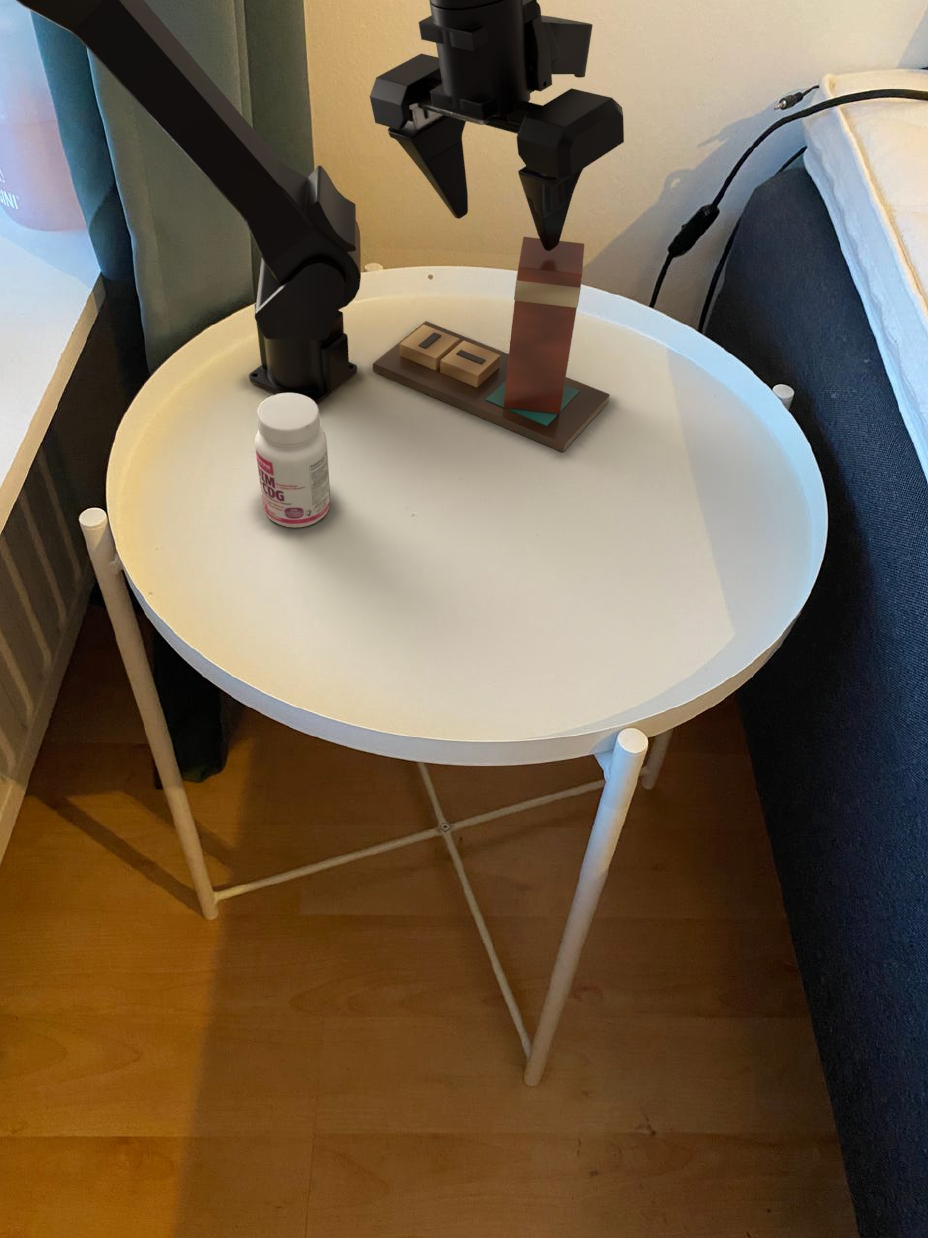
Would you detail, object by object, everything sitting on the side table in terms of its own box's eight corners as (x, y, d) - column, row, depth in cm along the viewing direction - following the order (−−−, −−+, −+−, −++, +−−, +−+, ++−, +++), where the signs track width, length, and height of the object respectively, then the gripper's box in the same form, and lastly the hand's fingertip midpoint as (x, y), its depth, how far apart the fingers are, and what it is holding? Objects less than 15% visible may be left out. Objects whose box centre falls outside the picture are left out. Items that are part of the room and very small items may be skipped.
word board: (372, 371, 81) (372, 349, 79) (425, 328, 85) (426, 307, 84) (563, 452, 75) (566, 430, 73) (608, 402, 80) (613, 380, 78)
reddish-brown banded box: (502, 408, 77) (517, 267, 68) (507, 374, 80) (522, 235, 71) (560, 415, 77) (582, 274, 68) (563, 381, 80) (585, 242, 71)
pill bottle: (251, 518, 68) (236, 421, 62) (282, 477, 71) (271, 381, 65) (312, 537, 67) (304, 440, 61) (341, 495, 70) (336, 398, 64)
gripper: (680, -39, 58) (676, 213, 69) (462, -67, 68) (491, 157, 79) (554, 32, 53) (573, 287, 65) (342, -9, 63) (391, 218, 75)
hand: (505, 231), depth 71 cm, fingers open, 9 cm apart
